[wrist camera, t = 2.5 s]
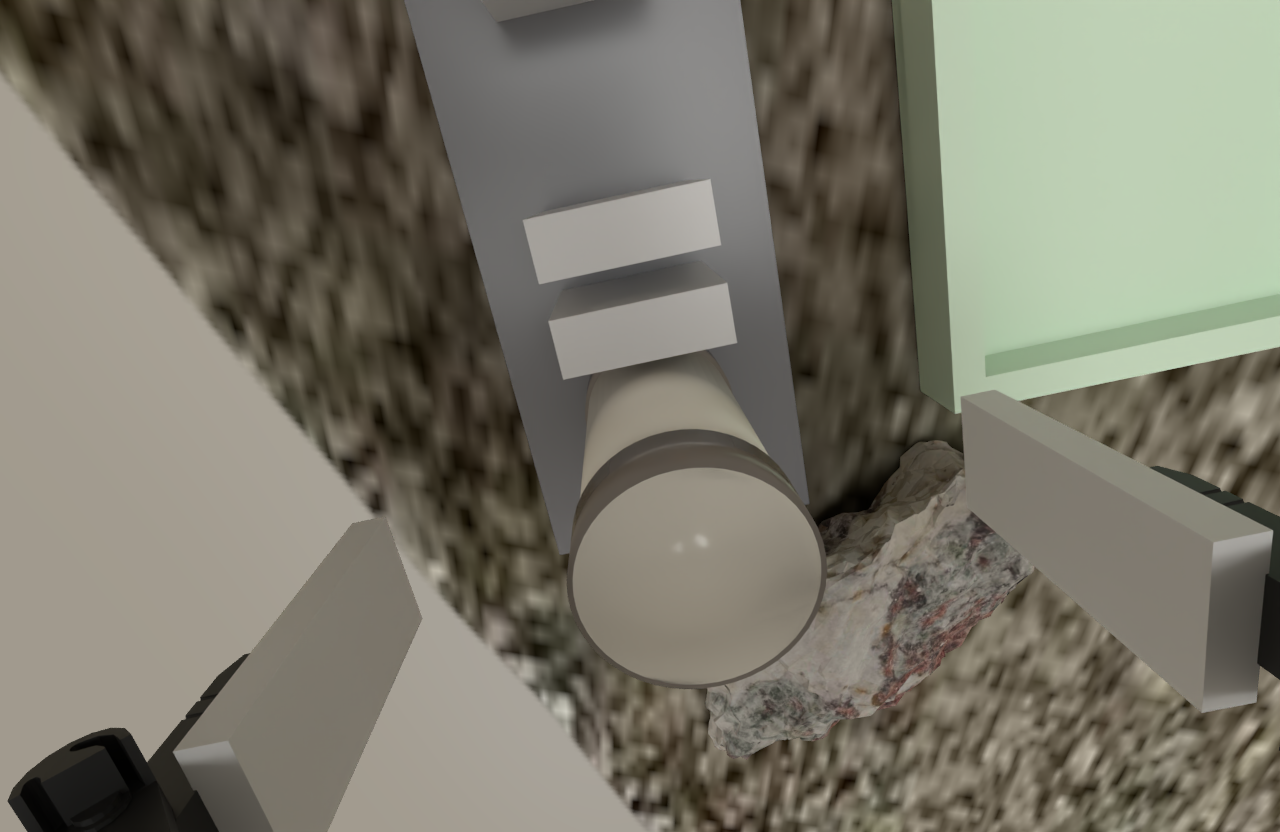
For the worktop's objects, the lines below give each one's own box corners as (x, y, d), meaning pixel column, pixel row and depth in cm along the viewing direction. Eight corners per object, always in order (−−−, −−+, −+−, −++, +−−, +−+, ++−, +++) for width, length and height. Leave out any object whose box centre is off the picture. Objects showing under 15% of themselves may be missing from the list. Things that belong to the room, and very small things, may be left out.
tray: (879, -164, 18) (919, -215, 16) (1401, -284, 18) (1521, -354, 16) (920, 390, 24) (955, 414, 21) (1325, 306, 23) (1407, 320, 21)
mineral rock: (738, 743, 28) (760, 839, 24) (627, 614, 26) (631, 695, 22) (1057, 556, 26) (1143, 626, 22) (967, 397, 24) (1044, 442, 20)
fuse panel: (406, -13, 19) (324, -93, 14) (722, -85, 19) (768, -196, 13) (561, 543, 25) (547, 645, 19) (803, 493, 25) (858, 582, 19)
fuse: (572, 345, 22) (537, 493, 11) (713, 314, 22) (810, 436, 11) (603, 474, 23) (599, 709, 13) (736, 446, 23) (840, 662, 13)
